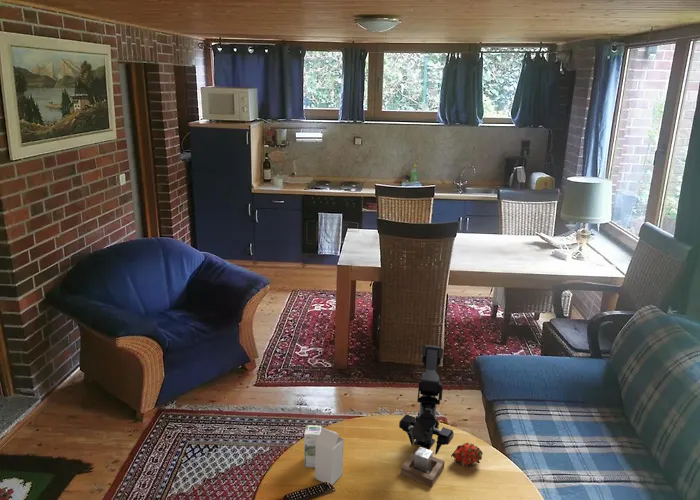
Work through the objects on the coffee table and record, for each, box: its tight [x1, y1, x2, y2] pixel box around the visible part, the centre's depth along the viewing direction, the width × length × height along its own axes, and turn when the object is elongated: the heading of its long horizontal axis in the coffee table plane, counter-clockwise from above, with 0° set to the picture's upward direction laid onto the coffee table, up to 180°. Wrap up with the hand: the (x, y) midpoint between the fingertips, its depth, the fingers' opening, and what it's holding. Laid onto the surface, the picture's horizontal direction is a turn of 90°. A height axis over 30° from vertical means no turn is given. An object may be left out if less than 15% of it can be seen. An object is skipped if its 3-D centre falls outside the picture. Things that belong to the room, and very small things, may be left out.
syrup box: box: [303, 424, 322, 469], centre depth 201 cm, size 6×6×14 cm
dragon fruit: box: [450, 442, 484, 468], centre depth 205 cm, size 8×8×12 cm
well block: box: [400, 449, 446, 488], centre depth 200 cm, size 12×12×3 cm
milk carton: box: [314, 427, 345, 486], centre depth 193 cm, size 7×7×19 cm
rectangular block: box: [413, 446, 434, 474], centre depth 199 cm, size 5×5×8 cm
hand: (424, 449), depth 198 cm, fingers open, 9 cm apart
